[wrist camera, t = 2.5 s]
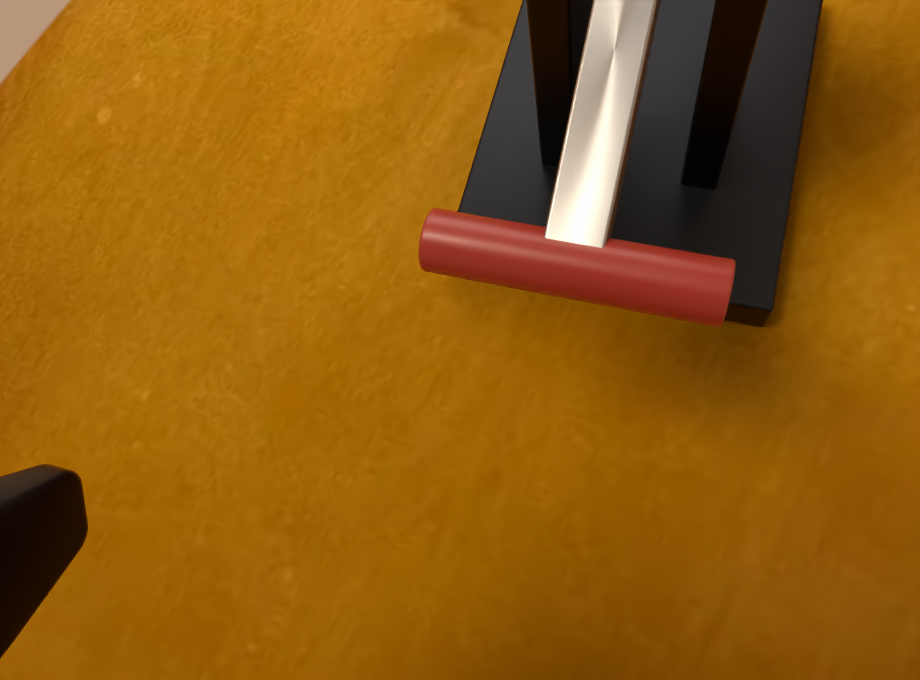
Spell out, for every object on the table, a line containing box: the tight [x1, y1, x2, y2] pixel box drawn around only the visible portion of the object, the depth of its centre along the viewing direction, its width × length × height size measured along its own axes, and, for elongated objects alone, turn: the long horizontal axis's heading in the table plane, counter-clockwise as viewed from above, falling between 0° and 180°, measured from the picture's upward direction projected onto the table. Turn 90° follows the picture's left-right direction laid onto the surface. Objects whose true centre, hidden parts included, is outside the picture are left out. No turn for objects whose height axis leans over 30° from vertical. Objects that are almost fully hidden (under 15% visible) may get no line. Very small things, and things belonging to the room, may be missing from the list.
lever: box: [419, 0, 736, 327], centre depth 15 cm, size 11×6×2 cm, turn 165°
